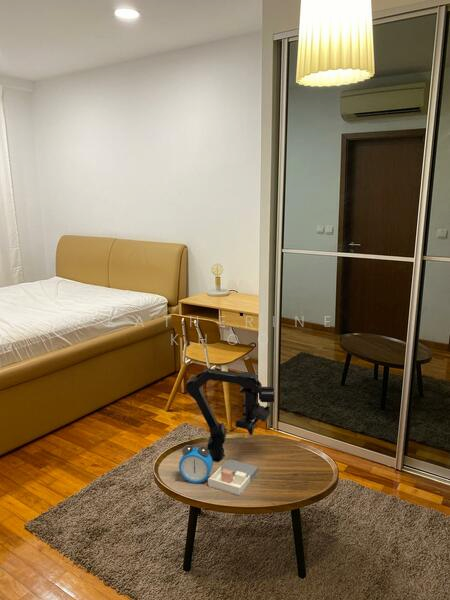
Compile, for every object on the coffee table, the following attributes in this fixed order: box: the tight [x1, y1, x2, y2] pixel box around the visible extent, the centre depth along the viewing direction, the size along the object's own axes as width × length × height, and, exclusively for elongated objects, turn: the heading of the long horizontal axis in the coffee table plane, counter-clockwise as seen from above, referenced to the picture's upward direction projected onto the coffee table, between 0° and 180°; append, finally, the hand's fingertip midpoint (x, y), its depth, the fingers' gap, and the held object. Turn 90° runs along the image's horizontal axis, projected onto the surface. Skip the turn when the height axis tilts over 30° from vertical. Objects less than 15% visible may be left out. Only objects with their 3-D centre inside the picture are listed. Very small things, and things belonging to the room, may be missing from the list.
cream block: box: [235, 471, 247, 485], centre depth 186 cm, size 4×4×2 cm
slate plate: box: [220, 458, 259, 483], centre depth 194 cm, size 14×8×2 cm, turn 62°
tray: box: [207, 466, 251, 496], centre depth 186 cm, size 14×10×4 cm
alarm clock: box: [178, 444, 214, 484], centre depth 189 cm, size 13×6×15 cm, turn 79°
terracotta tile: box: [221, 469, 233, 483], centre depth 188 cm, size 4×4×2 cm
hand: (251, 434), depth 202 cm, fingers closed
